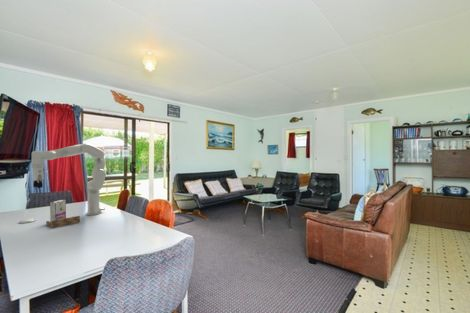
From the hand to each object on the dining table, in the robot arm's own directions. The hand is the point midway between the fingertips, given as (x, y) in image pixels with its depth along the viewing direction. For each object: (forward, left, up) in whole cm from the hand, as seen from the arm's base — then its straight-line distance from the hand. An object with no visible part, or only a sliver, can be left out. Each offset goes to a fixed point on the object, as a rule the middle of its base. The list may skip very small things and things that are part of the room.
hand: (37, 187), depth 186 cm
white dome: (+4, -10, -29) cm, 30 cm away
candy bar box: (-12, +7, -29) cm, 32 cm away
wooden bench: (-12, +19, -29) cm, 36 cm away
